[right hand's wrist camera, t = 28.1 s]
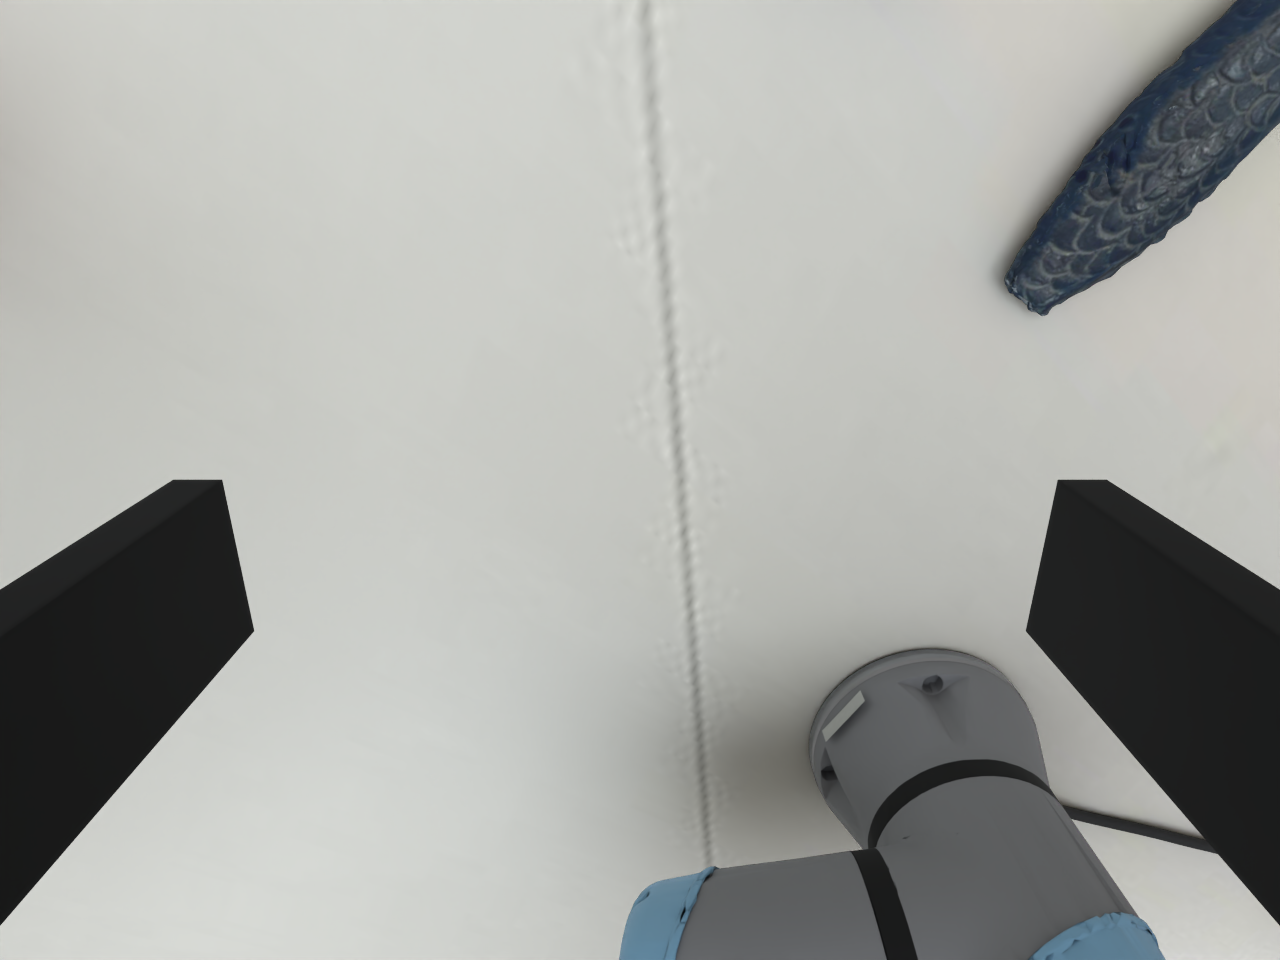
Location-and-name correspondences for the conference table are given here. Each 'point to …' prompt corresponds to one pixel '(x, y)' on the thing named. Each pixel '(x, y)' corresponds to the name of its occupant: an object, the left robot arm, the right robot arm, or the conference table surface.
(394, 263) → the conference table surface
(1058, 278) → the fish model
